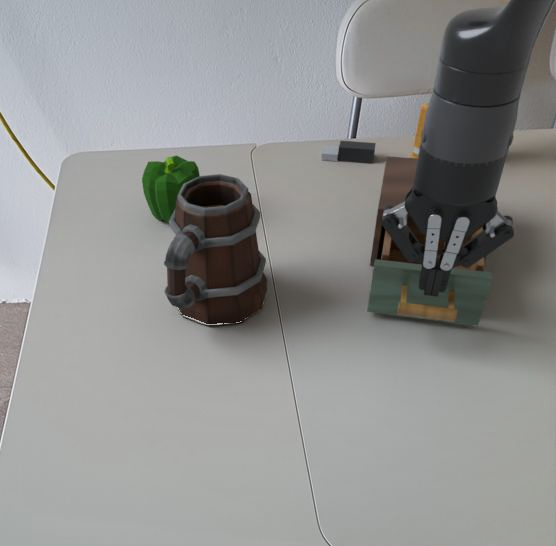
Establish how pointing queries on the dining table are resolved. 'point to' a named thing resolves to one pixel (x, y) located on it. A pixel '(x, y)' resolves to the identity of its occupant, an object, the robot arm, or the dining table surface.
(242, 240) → the mug
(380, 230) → the cabinet
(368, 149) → the usb flash drive
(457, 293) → the drawer
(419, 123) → the supplement box
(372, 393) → the dining table surface
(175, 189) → the bell pepper
